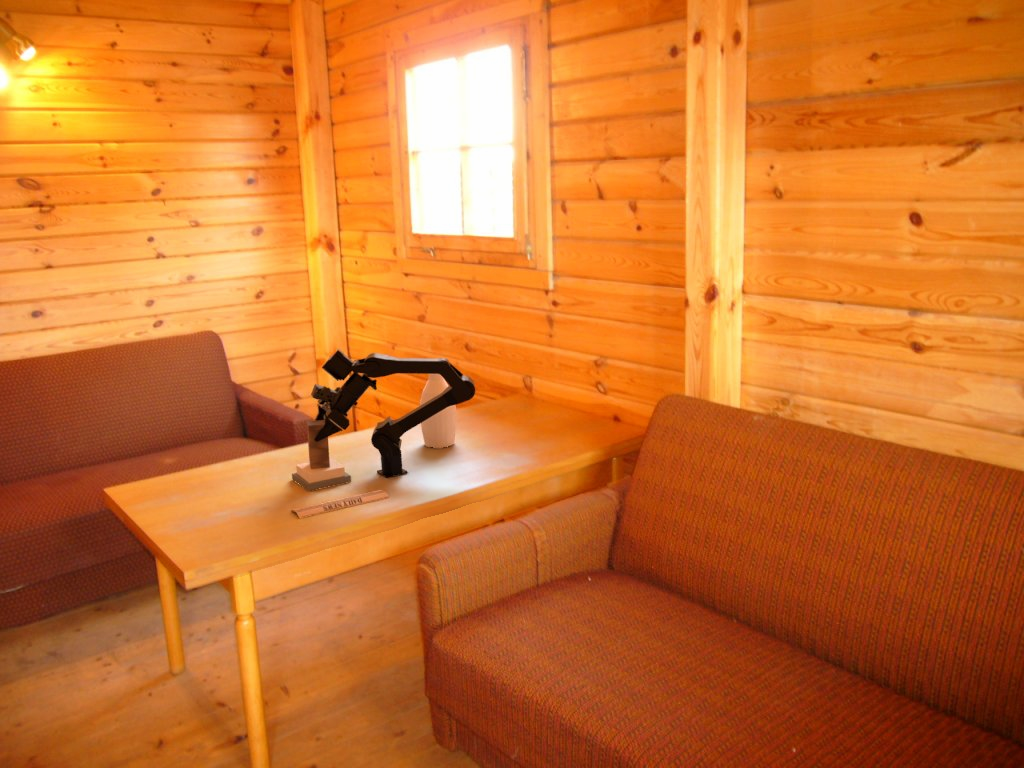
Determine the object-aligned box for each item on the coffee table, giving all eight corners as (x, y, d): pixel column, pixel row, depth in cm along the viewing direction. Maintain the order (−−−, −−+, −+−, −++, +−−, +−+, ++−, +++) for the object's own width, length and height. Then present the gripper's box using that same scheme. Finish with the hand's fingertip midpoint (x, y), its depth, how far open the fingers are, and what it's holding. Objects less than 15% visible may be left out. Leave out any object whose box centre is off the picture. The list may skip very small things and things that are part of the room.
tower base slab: (351, 484, 241) (350, 475, 240) (309, 494, 234) (308, 485, 234) (333, 473, 251) (332, 464, 250) (292, 482, 244) (291, 473, 243)
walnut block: (328, 461, 244) (325, 419, 242) (329, 467, 240) (327, 424, 237) (309, 463, 243) (306, 421, 241) (310, 469, 238) (307, 425, 236)
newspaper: (379, 494, 233) (378, 487, 232) (390, 501, 227) (389, 494, 226) (291, 514, 221) (290, 507, 220) (301, 522, 215) (300, 515, 214)
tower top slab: (344, 475, 240) (344, 467, 240) (309, 483, 235) (308, 474, 235) (331, 466, 248) (330, 457, 248) (296, 473, 243) (296, 464, 243)
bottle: (464, 445, 270) (460, 363, 265) (432, 452, 264) (428, 368, 259) (446, 437, 279) (442, 357, 274) (414, 443, 273) (410, 363, 268)
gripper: (322, 367, 245) (285, 410, 244) (333, 380, 228) (293, 427, 227) (353, 391, 250) (317, 434, 249) (365, 406, 233) (326, 452, 232)
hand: (313, 436), depth 239 cm, fingers open, 9 cm apart
